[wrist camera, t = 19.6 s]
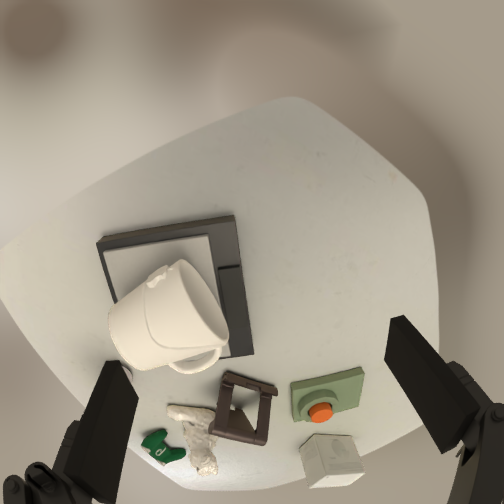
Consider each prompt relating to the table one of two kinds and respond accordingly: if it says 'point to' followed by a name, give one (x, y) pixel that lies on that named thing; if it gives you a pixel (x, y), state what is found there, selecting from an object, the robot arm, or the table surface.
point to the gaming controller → (161, 448)
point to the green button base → (327, 393)
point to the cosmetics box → (331, 461)
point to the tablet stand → (241, 412)
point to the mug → (169, 321)
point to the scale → (194, 252)
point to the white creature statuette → (197, 436)
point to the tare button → (320, 412)
